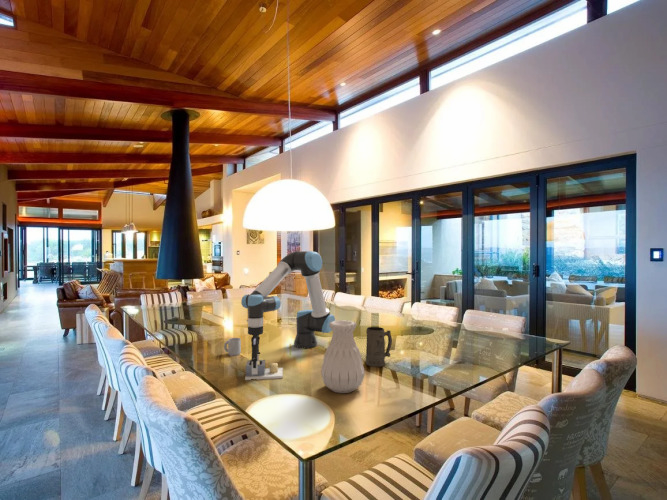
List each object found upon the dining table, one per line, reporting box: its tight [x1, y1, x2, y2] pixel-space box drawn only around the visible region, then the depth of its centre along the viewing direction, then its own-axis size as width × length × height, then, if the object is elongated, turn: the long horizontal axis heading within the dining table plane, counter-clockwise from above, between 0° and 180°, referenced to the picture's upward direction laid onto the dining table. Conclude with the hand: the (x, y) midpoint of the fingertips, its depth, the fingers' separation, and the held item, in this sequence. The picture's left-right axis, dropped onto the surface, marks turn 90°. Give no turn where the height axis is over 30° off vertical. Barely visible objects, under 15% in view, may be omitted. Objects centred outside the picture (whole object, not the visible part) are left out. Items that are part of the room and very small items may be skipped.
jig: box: [244, 361, 284, 381], centre depth 180 cm, size 18×12×7 cm, turn 98°
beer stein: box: [365, 326, 393, 368], centre depth 199 cm, size 15×11×20 cm
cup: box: [223, 337, 242, 357], centre depth 216 cm, size 7×10×9 cm
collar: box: [245, 359, 266, 376], centre depth 180 cm, size 9×9×5 cm
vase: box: [320, 319, 366, 394], centre depth 163 cm, size 20×20×30 cm
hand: (255, 370), depth 180 cm, fingers closed on collar, 9 cm apart
